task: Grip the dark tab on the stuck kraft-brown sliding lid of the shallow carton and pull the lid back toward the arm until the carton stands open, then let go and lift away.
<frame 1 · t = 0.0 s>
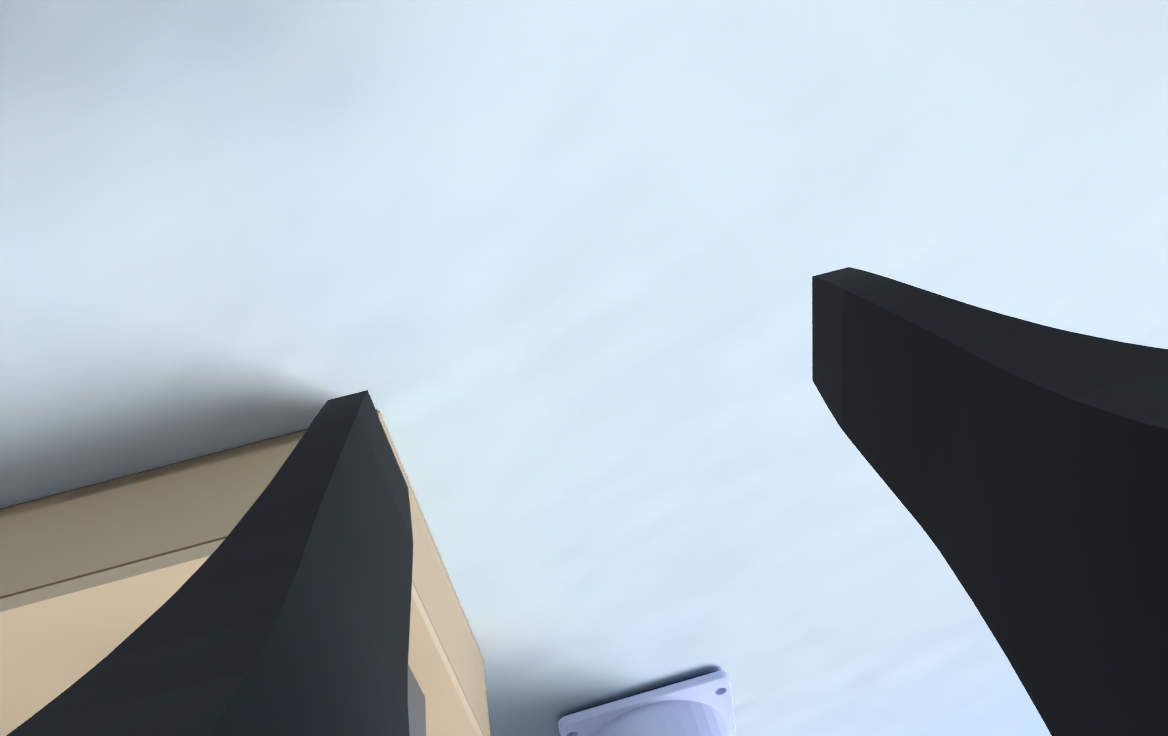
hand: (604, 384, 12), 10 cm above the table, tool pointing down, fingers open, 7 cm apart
carton: (244, 605, 26), on the table
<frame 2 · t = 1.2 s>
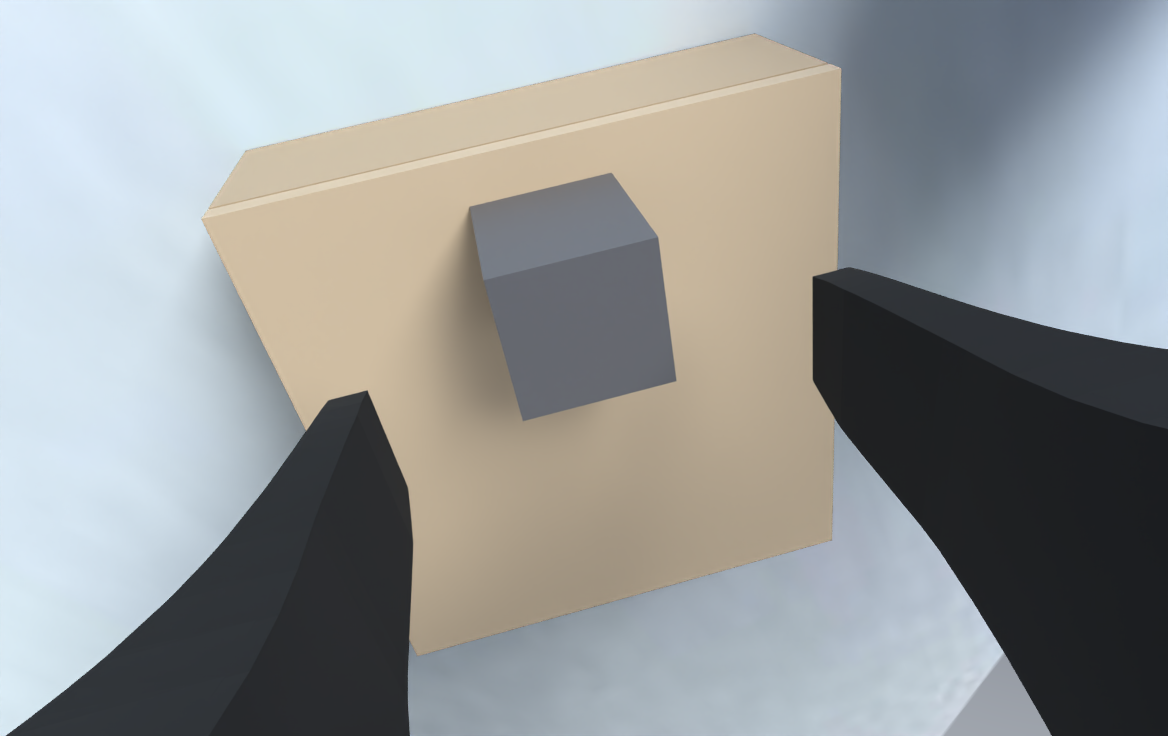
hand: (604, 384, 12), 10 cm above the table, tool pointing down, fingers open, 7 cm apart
carton: (559, 328, 22), on the table
sliding lid: (602, 454, 17), point 6 cm above the table, slide at 0.0 cm
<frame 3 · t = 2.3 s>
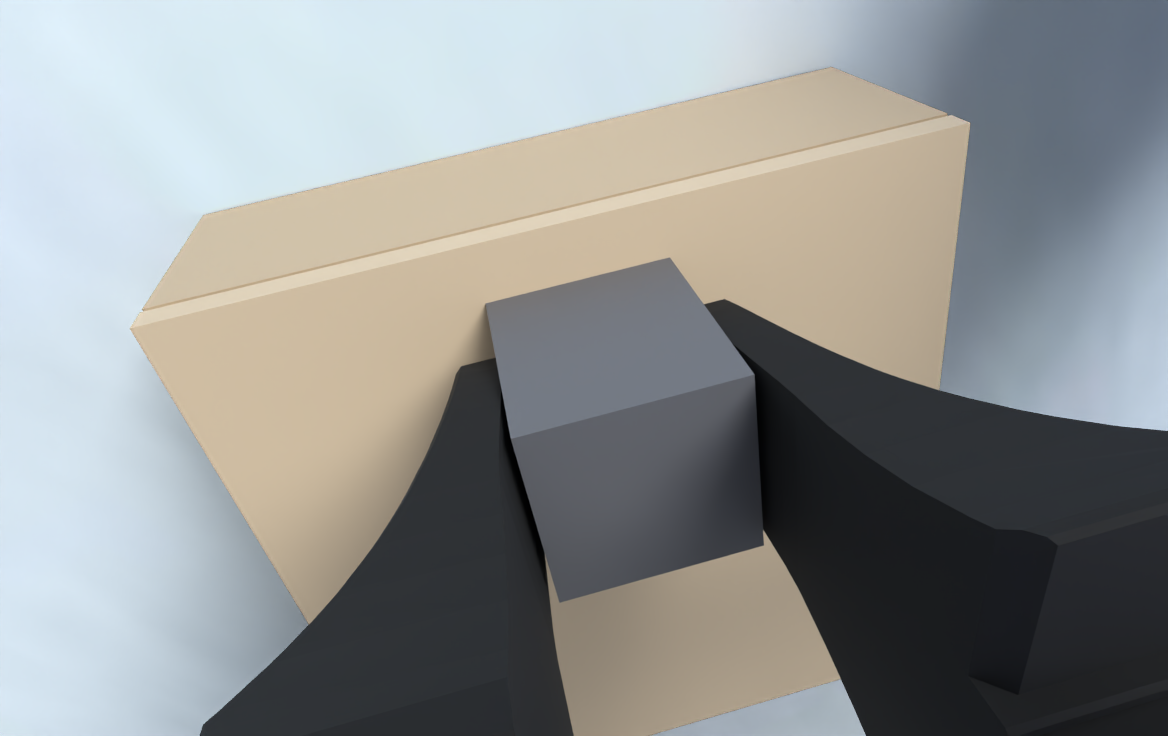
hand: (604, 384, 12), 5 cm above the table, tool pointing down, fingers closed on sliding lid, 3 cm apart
carton: (585, 411, 19), on the table
sliding lid: (650, 599, 14), point 6 cm above the table, slide at 0.0 cm, touching gripper
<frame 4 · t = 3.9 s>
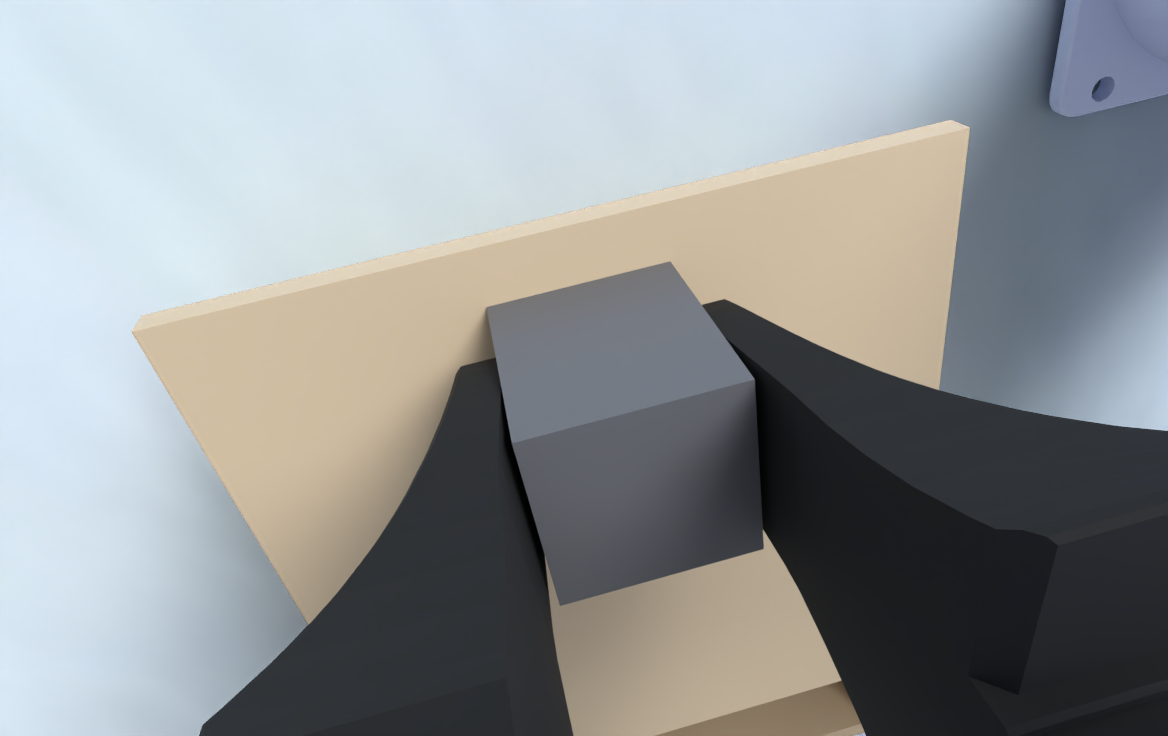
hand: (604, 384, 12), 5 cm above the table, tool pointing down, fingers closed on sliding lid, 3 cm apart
carton: (610, 524, 21), on the table
sliding lid: (650, 602, 14), point 6 cm above the table, slide at 4.1 cm, touching gripper
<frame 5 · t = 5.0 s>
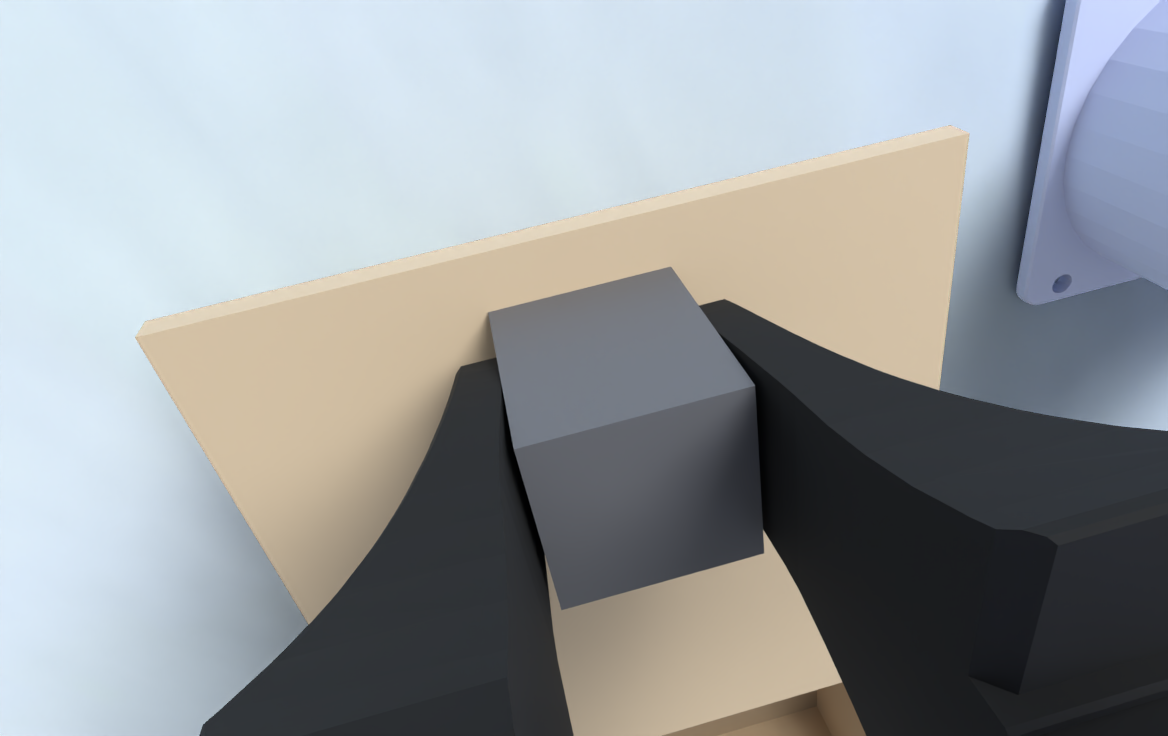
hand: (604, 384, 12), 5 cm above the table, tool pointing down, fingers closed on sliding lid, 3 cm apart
carton: (633, 630, 24), on the table
sliding lid: (651, 605, 14), point 6 cm above the table, slide at 8.8 cm, touching gripper
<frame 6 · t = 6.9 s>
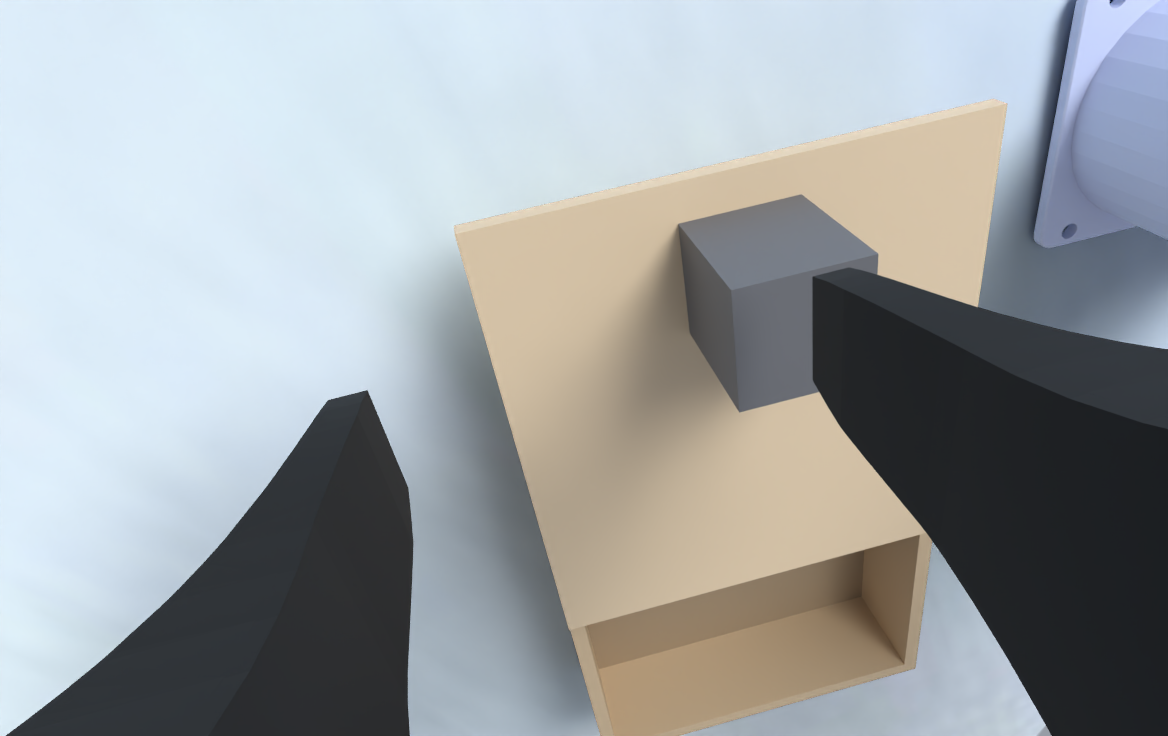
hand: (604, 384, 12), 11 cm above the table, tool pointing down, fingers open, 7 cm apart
carton: (717, 519, 29), on the table
sliding lid: (772, 444, 19), point 6 cm above the table, slide at 8.8 cm
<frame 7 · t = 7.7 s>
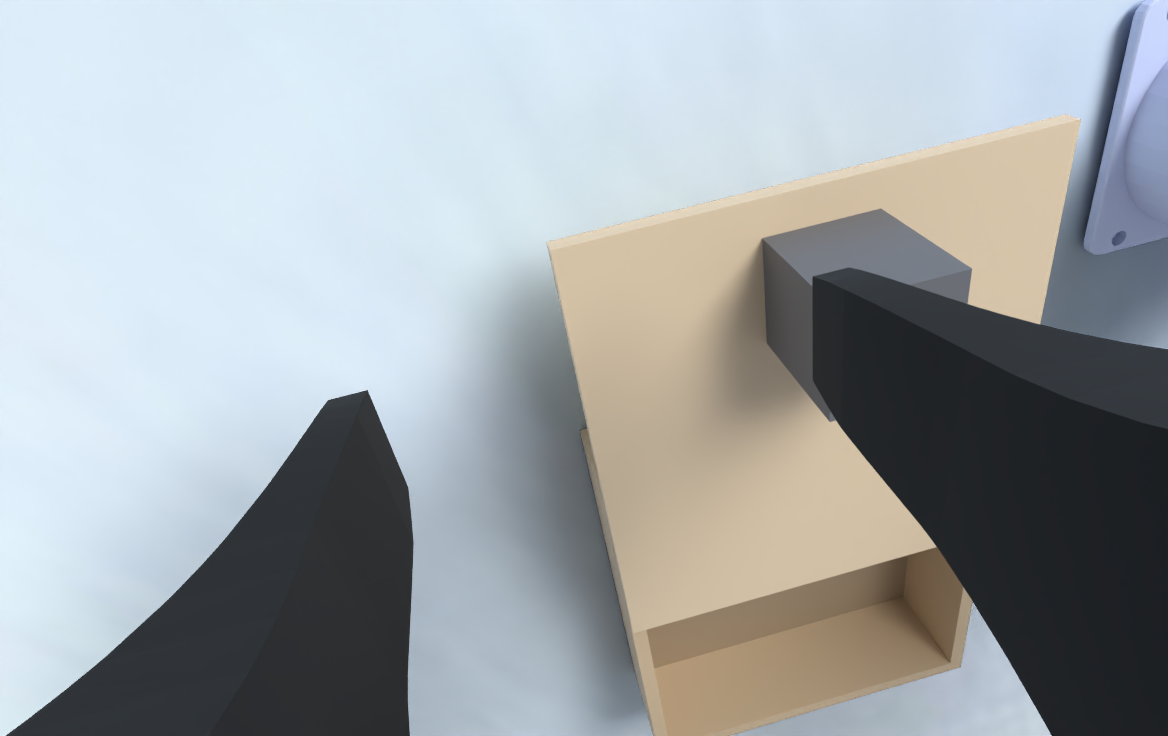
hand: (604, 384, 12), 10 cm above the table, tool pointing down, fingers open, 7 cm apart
carton: (767, 522, 30), on the table
sliding lid: (846, 451, 20), point 6 cm above the table, slide at 8.8 cm
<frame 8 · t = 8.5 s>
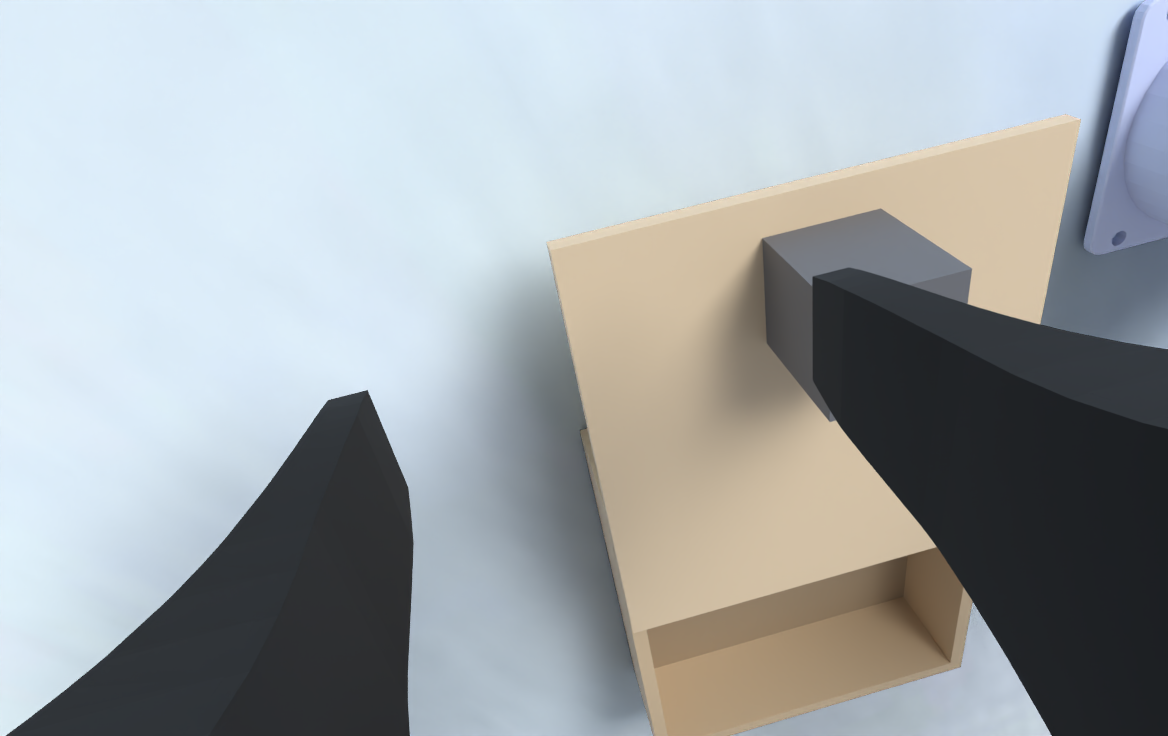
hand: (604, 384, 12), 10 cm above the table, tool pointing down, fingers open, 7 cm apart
carton: (767, 522, 30), on the table
sliding lid: (846, 451, 20), point 6 cm above the table, slide at 8.8 cm
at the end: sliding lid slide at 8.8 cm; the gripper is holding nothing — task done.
